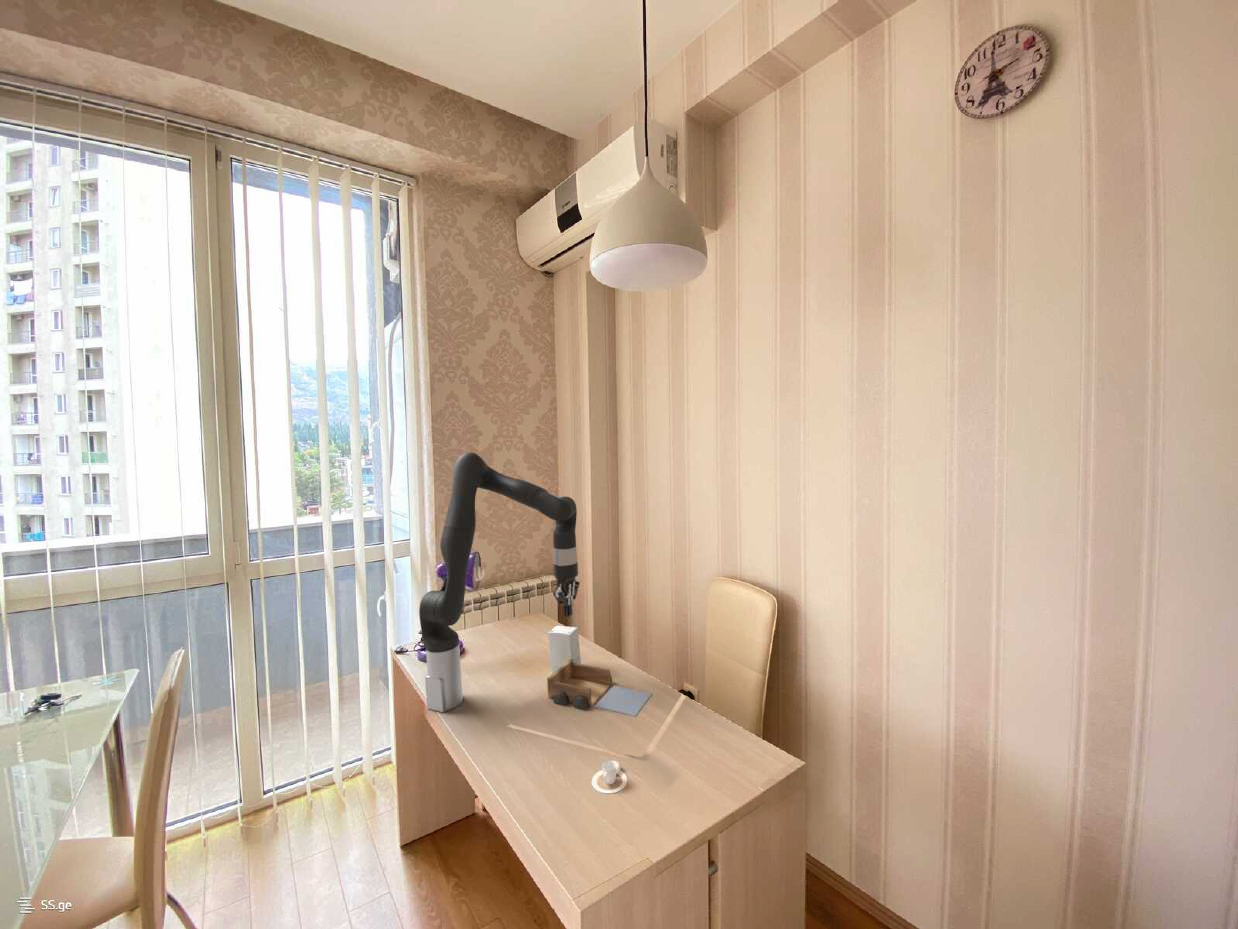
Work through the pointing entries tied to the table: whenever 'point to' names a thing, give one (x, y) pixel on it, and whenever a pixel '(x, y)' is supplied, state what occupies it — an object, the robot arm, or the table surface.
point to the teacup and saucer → (610, 776)
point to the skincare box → (563, 646)
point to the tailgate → (623, 701)
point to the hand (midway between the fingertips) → (568, 615)
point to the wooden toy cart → (578, 684)
